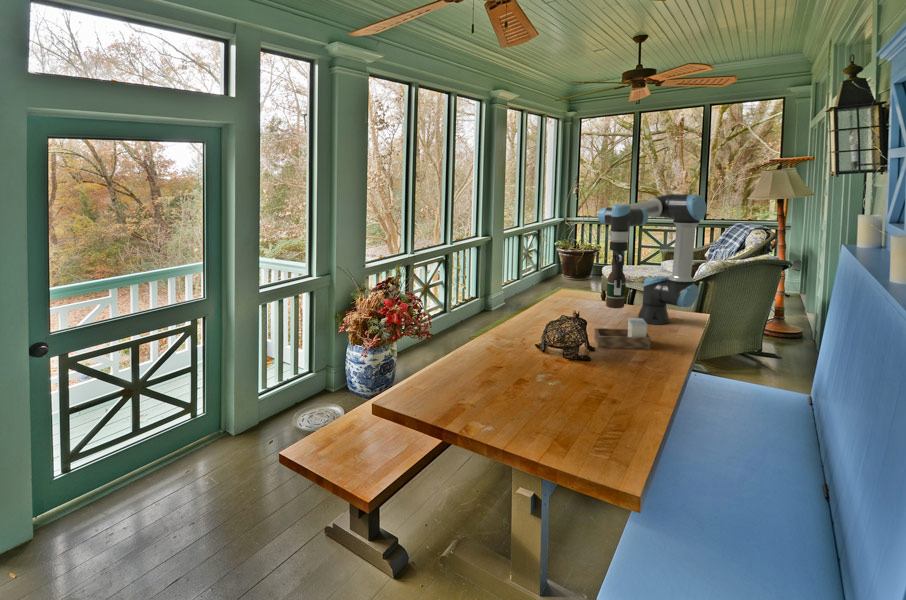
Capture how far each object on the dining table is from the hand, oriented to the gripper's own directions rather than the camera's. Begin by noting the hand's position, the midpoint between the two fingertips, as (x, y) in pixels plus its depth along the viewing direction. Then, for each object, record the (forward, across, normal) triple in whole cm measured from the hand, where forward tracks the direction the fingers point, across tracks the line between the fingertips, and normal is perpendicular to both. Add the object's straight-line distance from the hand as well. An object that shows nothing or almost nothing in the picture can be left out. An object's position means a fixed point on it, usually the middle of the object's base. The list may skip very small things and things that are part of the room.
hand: (615, 292), depth 240 cm
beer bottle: (+6, 0, 0) cm, 6 cm away
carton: (+22, 0, +10) cm, 24 cm away
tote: (+23, 0, +4) cm, 23 cm away
